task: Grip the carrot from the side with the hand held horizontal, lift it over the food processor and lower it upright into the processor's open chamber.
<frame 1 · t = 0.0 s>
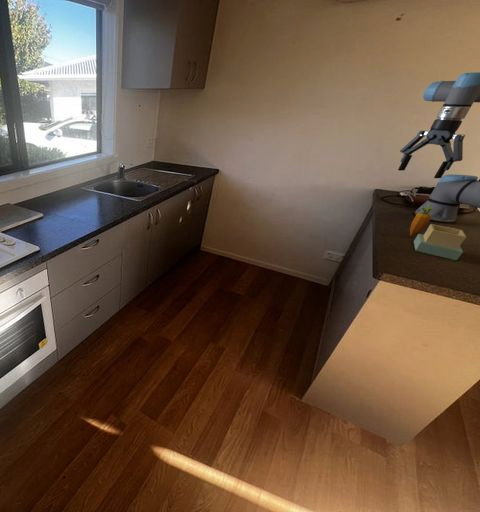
hand: (418, 174, 123), 28 cm above the worktop, tool pointing down, fingers open, 13 cm apart
carrot: (410, 236, 135), on the worktop
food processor: (433, 250, 122), on the worktop
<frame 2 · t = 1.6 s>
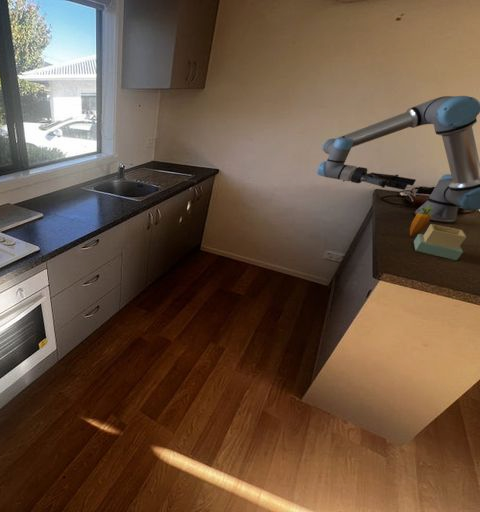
hand: (410, 184, 130), 22 cm above the worktop, tool horizontal, fingers open, 13 cm apart
nothing on the worktop moved.
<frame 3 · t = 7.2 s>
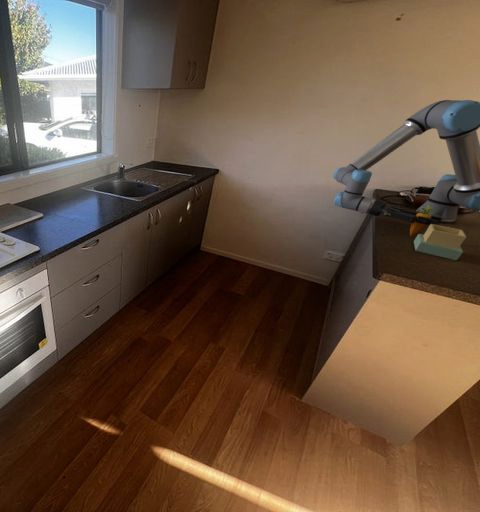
hand: (438, 222, 126), 9 cm above the worktop, tool horizontal, fingers closed on carrot, 5 cm apart
carrot: (410, 236, 135), on the worktop, touching gripper
when the fingers open (13 cm above the worktop, at t = 15.6 s): carrot stays where it is, resting on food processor.
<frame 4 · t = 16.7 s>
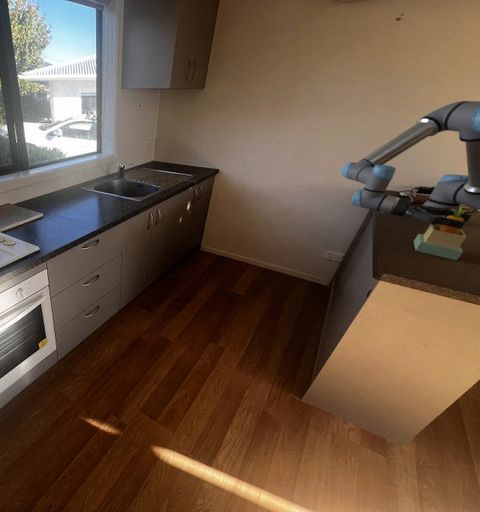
hand: (466, 221, 113), 14 cm above the worktop, tool horizontal, fingers open, 13 cm apart
carrot: (439, 242, 120), point 4 cm above the worktop, touching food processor
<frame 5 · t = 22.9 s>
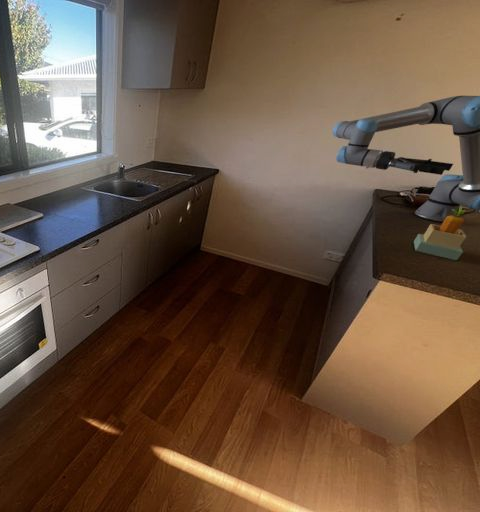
hand: (447, 169, 114), 32 cm above the worktop, tool horizontal, fingers open, 13 cm apart
nothing on the worktop moved.
at the end: carrot inside the target area on the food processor (0.1 cm from its centre), point 3.8 cm above the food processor's base; carrot tilted 0°; the gripper is holding nothing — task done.
